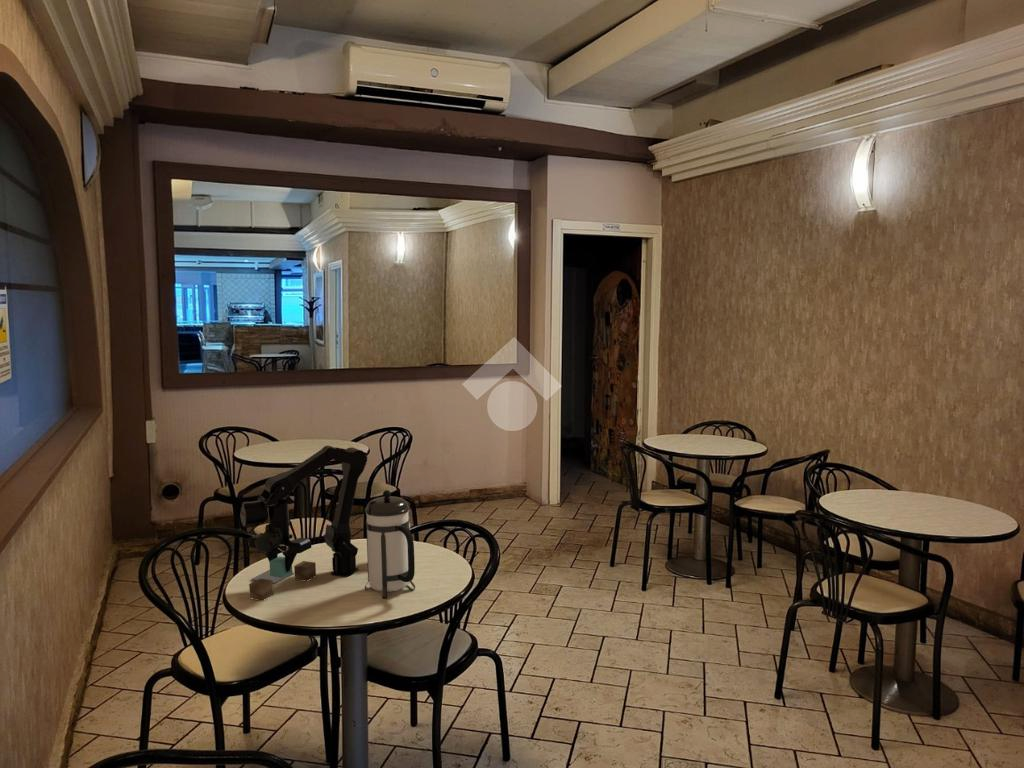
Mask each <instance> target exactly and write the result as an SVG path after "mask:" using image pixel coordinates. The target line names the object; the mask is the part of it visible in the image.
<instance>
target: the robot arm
mask: <svg viewBox="0 0 1024 768" xmlns="http://www.w3.org/2000/svg"><path fill="white" fill-rule="evenodd" d="M332 461H336V462H341V469H342V480H341V486H340V490H339V496H338V501H337V505H336V510H335V515H334V520H333V521H332V523H331V524H326V526H325V534H323V538H324V542H325V544H326V546H328V547H329V548H330V549H331V552H333V553H332V558H331V561H332V563H331V565H332V571H331V572H330V575H334V576H341V577H350V576H352V575H353V574H355V573H356V572H358V571H359V570H360V568H359V567H357V560H356V559H357V558H356V556H357V554H358V551H359V548H358V547H356V545H354V544H352V542H351V539H352V538H351V537H352V533H351V527H350V521H351V515H352V510H353V505H354V500H355V496H356V490H357V486H358V481H359V479H360V477H361V475H362V474H363V472H364V470H365V467H366V465H367V462H368V454H366V452H364V450H361V449H359V448H356V447H353V446H352V447H351V446H350V447H348V448H341V447H334V446H332V445H325V446H323V447H322V449H319V450H318V451H316V453H314V454H312V455H311V456H309V457H308V458H306V459H305V460H303V461H302V462H301V463H298V464H297V465H296V466H294V467H293V468H291V469H289V470H287V471H283V472H280V473H277V474H275V475H273V476H271V477H268V479H267V480H266V481H265V484H264V489H263V490H262V491H261V493H260V495H259V496H258V497H257V500H254V501H253V500H252V501H243V502H242V503H241V508H240V512H239V513H240V514H239V516H240V521H241V522H240V523H241V524H242V526H243V527H248V526H254V525H258V524H259V525H260V524H264V523H265V522H266V521H268V523H267V524H265V527H264V528H265V530H264V532H259V533H257V534H254V535H253V536H250V538H249V539H248V548H254V549H257V551H258V552H262V553H263V554H265V556H266V558H267V559H268V562H269V561H271V560H273V559H275V558H277V557H279V554H278V553H279V547H285V548H286V550H284V551H282V552H281V554H282V555H283V557H285V568H286V572H289V571H290V569H291V566H292V567H293V564H294V561H295V559H296V558H297V557H296V556H297V554H302V553H303V552H306V551H307V550H309V549H311V548H312V541H311V540H310V538H308V537H307V538H304V537H297V538H296V539H294V540H291V539H293V534H291V533H290V526H292V524H293V523H292V522H293V521H292V520H289V519H290V517H289V515H290V514H289V505H294V504H295V503H296V501H295V500H294V499H293V498H291V496H290V493H292V492H293V491H294V490H295V488H296V487H297V486H298V484H299V483H301V482H302V481H303V480H304V479H306V478H308V477H309V476H311V475H312V474H313V473H315V472H316V471H318V470H319V469H321V468H323V467H324V466H325V465H326V464H328V463H330V462H332Z"/></svg>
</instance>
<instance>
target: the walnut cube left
mask: <svg viewBox="0 0 1024 768" xmlns="http://www.w3.org/2000/svg"><path fill="white" fill-rule="evenodd" d="M248 585H249V586H248V589H249V599H250V598H253V599H252V600H255V599H258V600H257V601H261V600H263V601H265V600H266V598H267V599H268V597H269V598H270V597H272V596H274V590H273V589H274V584H273V582H272V580H267V579H258V580H256V581H251V582H250V583H249V584H248ZM264 599H265V600H264Z"/></svg>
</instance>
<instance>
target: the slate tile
mask: <svg viewBox="0 0 1024 768" xmlns="http://www.w3.org/2000/svg"><path fill="white" fill-rule="evenodd" d="M293 575H295V572H294V571H292V573H291V574H289V575H287V576H285V577H283V578H280V577H273V576H270V569H268V570H266V571H264V572H262V573H260V574H258V575H257V576H255V577H253V578H251V579H250V582H254V581H256V580H258V579H267V580H272V582H273V585H276V584H277V585H278V583H280V582H282V581H284V580H286V579H287V578H289V577H291V576H293Z"/></svg>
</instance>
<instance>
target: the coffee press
mask: <svg viewBox="0 0 1024 768" xmlns="http://www.w3.org/2000/svg"><path fill="white" fill-rule="evenodd" d="M382 495H383V496H381V497H376V498H374V499H372V500H371V499H370V501H369V502H368V503H367V505H366V507H365V508H364V513H365V514H366V521H365V528H366V549H367V550H366V553H367V554H366V555H367V558H366V559H367V583H366V584H365V586H364V590H365V591H369V590H370V589H373V590H375V591H378V592H381V600H387V599H388V596H389V592H390V593H391V592H396V591H400V590H402V589H404V588H407V589H408V590H410V591H411V592H414V591H415V589H416V584H414V582H413V580H414V578H415V577H414V576H415V567H416V566H415V544H414V538H413V534H412V533H411V530H410V529H409V523H410V517H409V512H410V505H409V504H408V502H407V501H406V499H404V498H402V497H399V496H392V493H391V491H390V490H388V489H387V490H384V491H383V493H382ZM409 584H411V586H412V587H413V588H412V587H411V586H409ZM367 585H369V586H370V587H367Z"/></svg>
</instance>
